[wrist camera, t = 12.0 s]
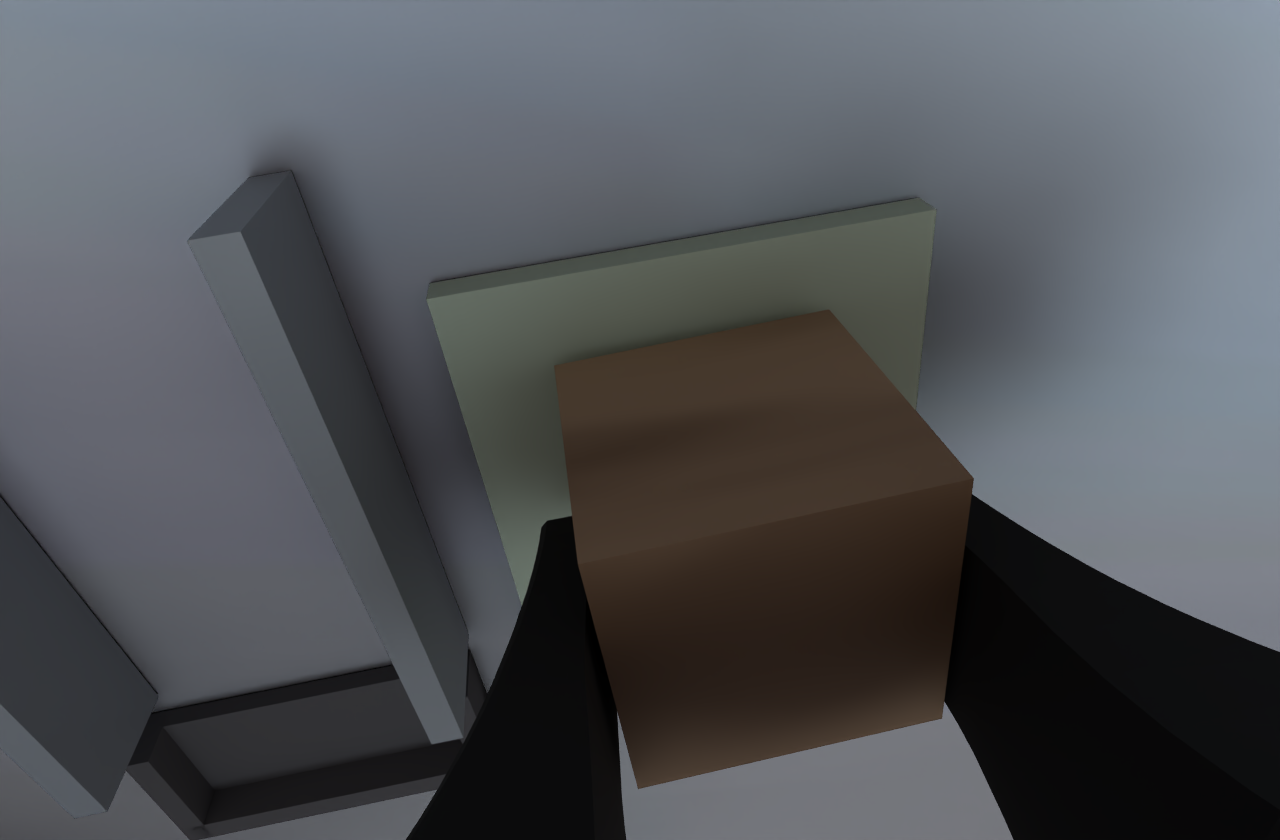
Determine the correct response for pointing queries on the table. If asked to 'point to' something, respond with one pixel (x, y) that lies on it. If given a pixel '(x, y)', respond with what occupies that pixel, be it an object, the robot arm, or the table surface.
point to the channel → (333, 473)
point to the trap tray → (293, 752)
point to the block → (761, 543)
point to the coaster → (662, 329)
